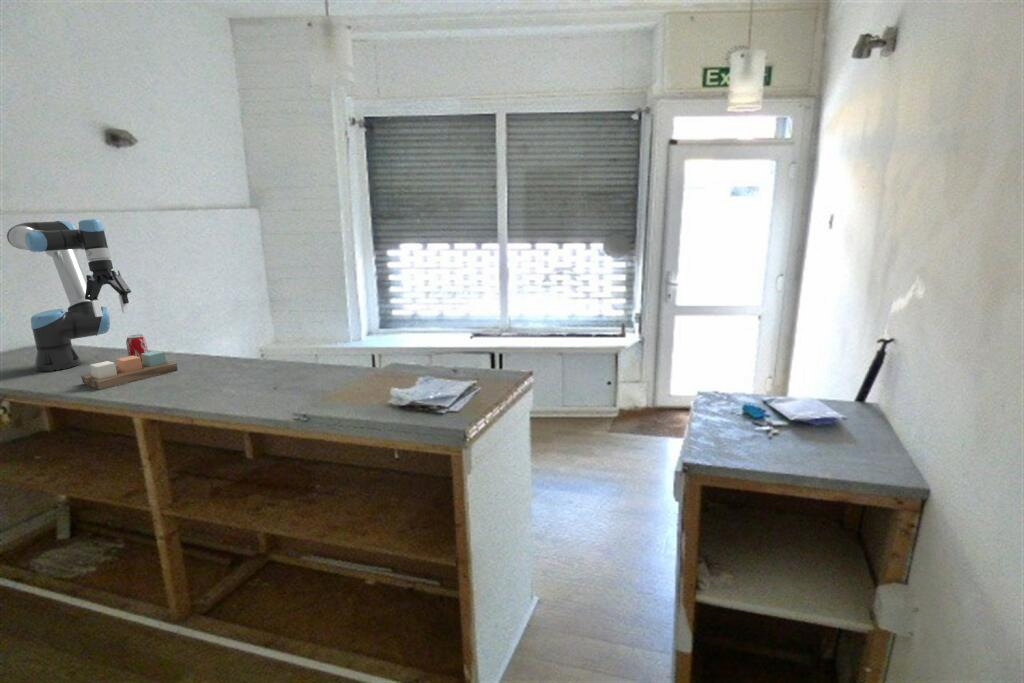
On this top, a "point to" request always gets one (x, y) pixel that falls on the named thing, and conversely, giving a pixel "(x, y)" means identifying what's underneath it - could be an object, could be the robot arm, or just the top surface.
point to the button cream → (103, 369)
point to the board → (129, 375)
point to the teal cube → (153, 358)
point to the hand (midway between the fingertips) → (112, 314)
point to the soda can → (136, 345)
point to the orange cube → (129, 364)
